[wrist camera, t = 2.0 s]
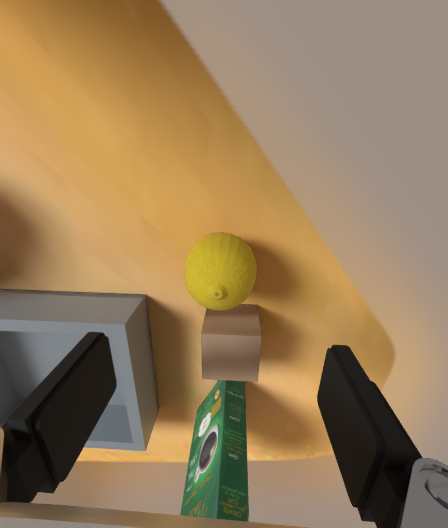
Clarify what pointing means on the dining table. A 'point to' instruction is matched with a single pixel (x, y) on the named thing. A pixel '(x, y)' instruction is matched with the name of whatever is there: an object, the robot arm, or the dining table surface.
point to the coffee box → (219, 457)
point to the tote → (65, 339)
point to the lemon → (220, 271)
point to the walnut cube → (231, 344)
